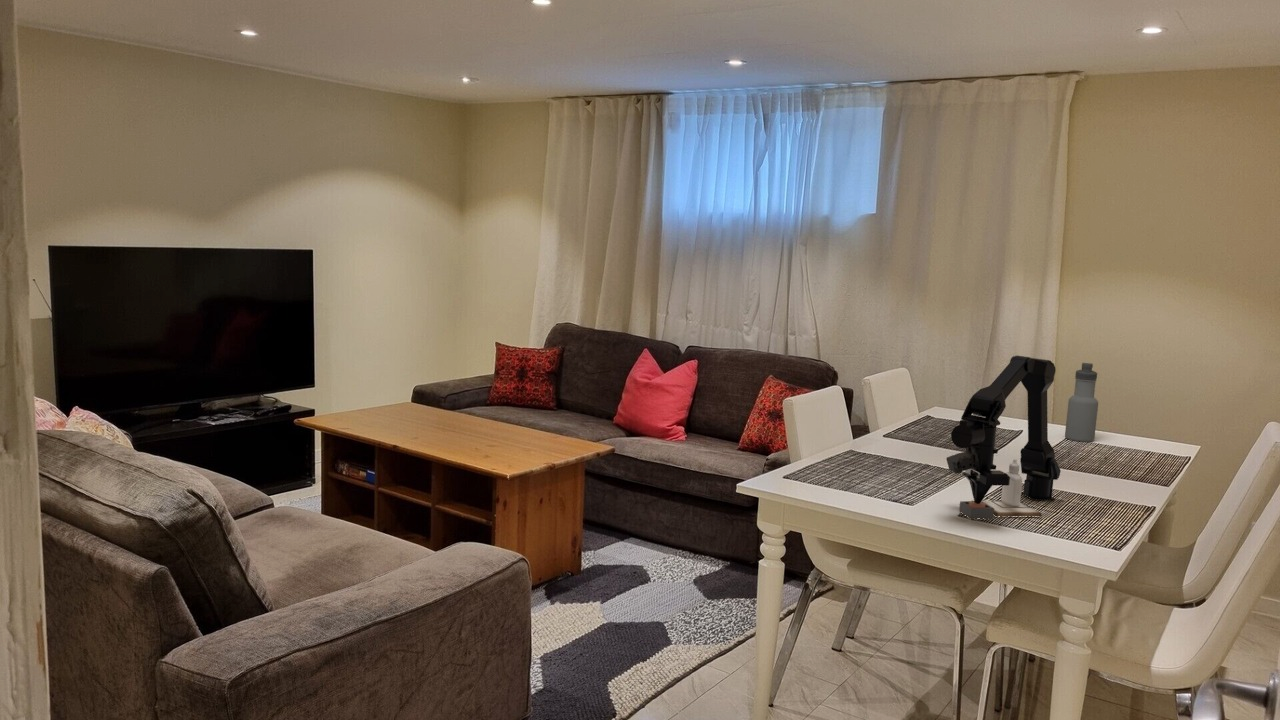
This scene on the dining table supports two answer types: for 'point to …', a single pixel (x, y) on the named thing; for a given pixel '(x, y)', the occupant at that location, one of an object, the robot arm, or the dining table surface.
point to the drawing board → (1012, 509)
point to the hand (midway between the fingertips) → (977, 503)
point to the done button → (974, 505)
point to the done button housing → (976, 511)
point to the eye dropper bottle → (1012, 486)
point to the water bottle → (1082, 406)
